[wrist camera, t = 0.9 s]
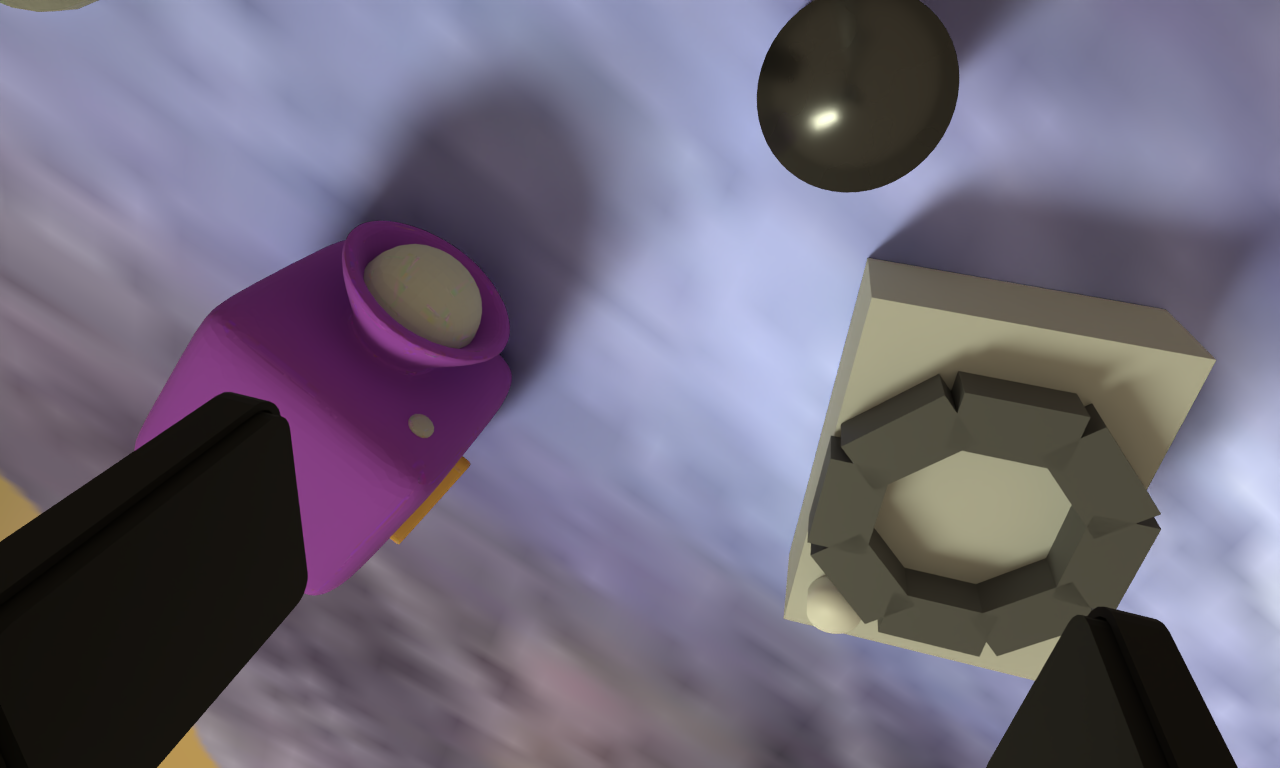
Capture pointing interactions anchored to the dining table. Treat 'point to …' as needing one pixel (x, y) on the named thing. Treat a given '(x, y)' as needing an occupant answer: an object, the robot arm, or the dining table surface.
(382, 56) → the dining table surface
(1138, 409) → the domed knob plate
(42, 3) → the mate gourd
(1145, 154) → the dining table surface
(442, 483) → the toy camera
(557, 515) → the dining table surface
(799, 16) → the lens
